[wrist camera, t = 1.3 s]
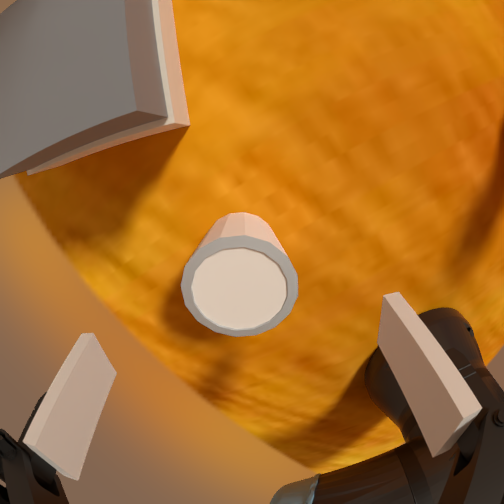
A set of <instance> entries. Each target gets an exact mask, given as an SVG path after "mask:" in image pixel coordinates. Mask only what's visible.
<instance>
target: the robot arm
mask: <svg viewBox="0 0 504 504" xmlns="http://www.w3.org/2000/svg"><path fill="white" fill-rule="evenodd" d="M377 343H378V345H379V348H378V349H377V351H376V352H375V353H374V355H373V356H372V358H371V360H370V362H369V364H368V366H367V369H366V372H365V385H366V387H367V390H368V392H369V395H370V397H371V399H372V400H373V402H374V403H375V404H376V405H377V406H378V407H379V408H380V409H381V410H382V411H383V412H384V413H385V414H386V415H387V416H388V417H389V418H390V419H391V420H392V421H393V422H394V423H395V424H396V425H397V426H398V427H399V428H400V430H401V432H402V435H403V437H404V440H405V442H406V443H405V444H403V445H401V446H399V447H397V448H395V449H392V450H390V451H387V452H385V453H382V454H380V455H378V456H375V457H372V458H370V459H367V460H365V461H362V462H359V463H356V464H353V465H350V466H347V467H344V468H341V469H338V470H335V471H331V472H328V473H325V474H320V473H319V474H316V475H315V476H314V477H311V478H308V479H304V480H301V481H297V482H293V483H290V484H287V485H285V486H283V487H282V488H280V489H279V490H278V491H277V492H276V494H275V495H274V496H273V498H272V500H271V502H270V504H504V391H503V390H502V388H501V387H500V386H499V384H498V383H497V382H496V380H495V379H494V378H493V376H492V375H491V374H490V372H489V371H488V369H487V368H486V367H485V365H484V362H483V359H482V356H481V353H480V350H479V347H478V344H477V342H476V339H475V337H474V333H473V330H472V327H471V325H470V324H469V322H468V321H467V320H466V319H465V318H464V317H463V316H462V315H461V314H460V313H459V312H458V311H457V310H455V309H452V308H437V309H433V310H430V311H427V312H424V313H422V314H420V315H417V314H416V313H415V312H414V310H413V309H412V308H411V306H410V305H409V304H408V303H407V302H406V300H405V299H404V298H403V297H402V295H401V294H400V293H399V292H395V293H391V294H387V295H383V303H382V311H381V319H380V326H379V333H378V340H377ZM116 374H117V373H116V371H115V370H114V368H113V366H112V365H111V363H110V362H109V360H108V358H107V356H106V355H105V353H104V351H103V349H102V348H101V346H100V344H99V342H98V341H97V339H96V337H95V335H94V333H87V334H86V333H84V334H81V336H80V337H79V339H78V340H77V342H76V344H75V345H74V347H73V348H72V350H71V352H70V353H69V355H68V357H67V358H66V360H65V362H64V363H63V365H62V367H61V368H60V370H59V372H58V374H57V375H56V377H55V379H54V381H53V382H52V384H51V386H50V388H49V390H48V392H46V393H45V394H44V395H43V396H42V397H41V398H40V399H39V400H38V402H37V404H36V406H35V410H33V412H32V414H31V417H30V418H29V420H28V422H27V424H26V426H25V428H24V430H23V432H22V434H21V437H20V438H19V440H18V442H16V441H15V440H14V439H13V438H12V437H11V436H10V435H9V434H8V433H7V432H6V431H5V430H3V429H0V479H1V480H2V481H4V482H5V483H6V488H5V487H3V486H2V485H0V504H69V502H68V500H67V497H66V495H65V492H64V490H63V487H62V484H61V481H60V479H59V477H58V475H56V474H55V473H56V470H57V471H59V472H60V473H61V474H63V475H64V476H66V477H69V478H72V479H75V480H79V477H80V473H81V470H82V467H83V464H84V461H85V457H86V454H87V451H88V448H89V445H90V442H91V440H92V437H93V434H94V431H95V428H96V425H97V423H98V420H99V417H100V414H101V412H102V409H103V406H104V404H105V401H106V399H107V396H108V393H109V391H110V389H111V386H112V384H113V381H114V379H115V377H116Z"/></svg>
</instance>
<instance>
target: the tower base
mask: <svg viewBox="0 0 504 504" xmlns="http://www.w3.org/2000/svg"><path fill="white" fill-rule="evenodd" d="M152 8H153V17H154V26H155V34H156V42H157V49H158V57H159V63H160V70H161V77H162V83H163V89H164V95H165V101H166V107H167V113H168V117H167V118H164V119H160V120H156V121H153V122H150V123H146V124H143V125H140V126H136V127H133V128H130V129H127V130H124V131H121V132H118V133H115V134H113V135H110V136H107V137H104V138H102V139H99V140H96V141H94V142H91V143H89V144H86V145H84V146H81V147H79V148H76V149H74V150H72V151H69V152H67V153H65V154H62V155H60V156H58V157H56V158H54V159H51V160H49V161H47V162H45V163H43V164H41V165H39V166H37V167H35V168H33V169H30V170H27V175H31V174H35V173H38V172H41V171H45V170H48V169H52V168H55V167H59V166H62V165H64V164H67V163H69V162H72V161H74V160H77V159H79V158H82V157H85V156H87V155H90V154H93V153H96V152H99V151H101V150H104V149H107V148H110V147H113V146H116V145H119V144H123V143H126V142H129V141H132V140H136V139H139V138H143V137H146V136H150V135H153V134H157V133H161V132H165V131H169V130H173V129H177V128H181V127H185V126H190V121H189V115H188V109H187V104H186V97H185V91H184V85H183V79H182V72H181V66H180V59H179V52H178V45H177V38H176V31H175V23H174V15H173V7H172V0H152Z"/></svg>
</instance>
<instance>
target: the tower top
mask: <svg viewBox="0 0 504 504" xmlns="http://www.w3.org/2000/svg"><path fill="white" fill-rule="evenodd" d="M167 117H168V113H167V107H166V101H165V95H164V89H163V83H162V77H161V70H160V63H159V57H158V49H157V42H156V34H155V26H154V17H153V8H152V0H17V1H15V2H14V3H13V4H12V5H10V6H9V7H8V8H7V9H6V10H4V11H3V12H2V13H1V14H0V179H1V178H4V177H7V176H10V175H13V174H17V173H20V172H23V171H27V170H30V169H33V168H35V167H37V166H39V165H41V164H43V163H45V162H47V161H49V160H51V159H54V158H56V157H58V156H60V155H62V154H65V153H67V152H69V151H72V150H74V149H76V148H79V147H81V146H84V145H86V144H89V143H91V142H94V141H96V140H99V139H102V138H104V137H107V136H110V135H113V134H115V133H118V132H121V131H124V130H127V129H130V128H133V127H136V126H140V125H143V124H146V123H150V122H153V121H156V120H160V119H164V118H167Z"/></svg>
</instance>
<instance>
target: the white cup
mask: <svg viewBox="0 0 504 504" xmlns="http://www.w3.org/2000/svg"><path fill="white" fill-rule="evenodd" d="M181 290H182V294H183V298H184V302H185V305H186V307H187V308H188V309H189V311H190V312H191V313H192V315H193V316H194V317H195V319H196V320H197V321H198V322H200V323H201V324H203V325H204V326H206V327H208V328H209V329H211V330H212V331H214V332H217V333H221V334H226V335H230V336H234V337H238V336H251V335H257V334H260V333H262V332H265V331H267V330H269V329H272V328H274V327H276V326H277V325H278V324H279V323H280V322H281V321H282V320H283V319H284V318H285V317H286V316H288V315H289V314H290V312H291V310H292V308H293V305H294V303H295V301H296V299H297V296H298V275H297V273H296V271H295V269H294V267H293V266H292V264H291V262H290V260H289V258H288V256H287V254H286V253H285V251H284V249H283V247H282V246H281V244H280V242H279V241H278V239H277V237H276V236H275V234H274V232H273V231H272V229H271V228H270V226H269V225H268V224H267V223H266V222H265V221H263V220H262V219H261V218H260V217H258V216H256V215H252V214H249V213H245V212H240V213H230V214H228V215H226V216H224V217H222V218H220V219H219V220H217V221H216V222H215V224H214V225H213V226H212V227H211V229H210V230H209V231H208V233H207V234H206V235H205V237H204V238H203V240H202V241H201V243H200V244H199V246H198V247H197V249H196V250H195V252H194V253H193V255H192V256H191V258H190V259H189V261H188V262H187V264H186V265H185V268H184V272H183V277H182V282H181Z"/></svg>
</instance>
